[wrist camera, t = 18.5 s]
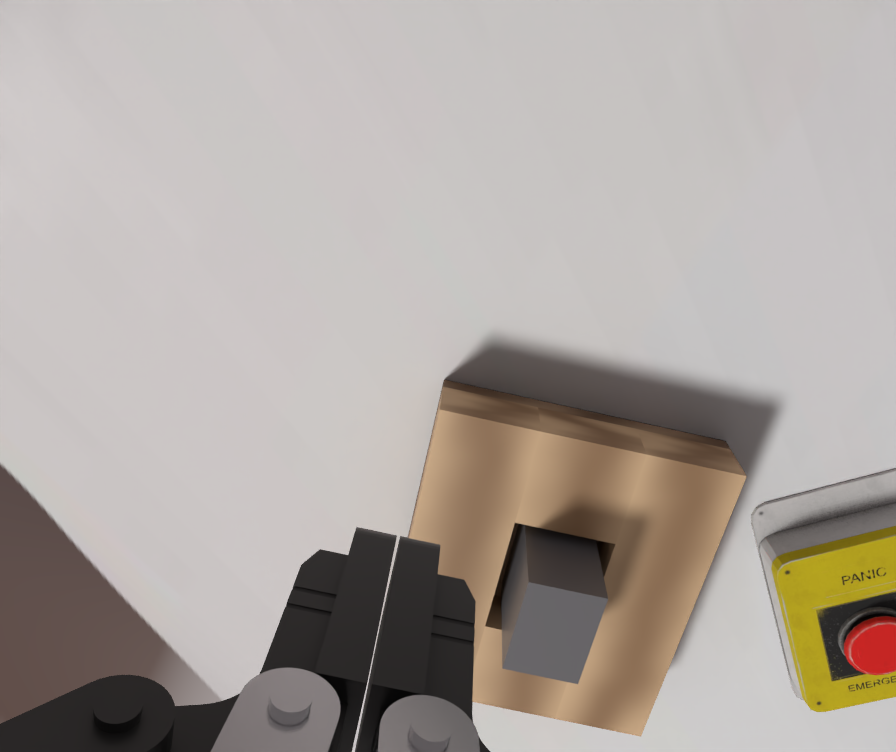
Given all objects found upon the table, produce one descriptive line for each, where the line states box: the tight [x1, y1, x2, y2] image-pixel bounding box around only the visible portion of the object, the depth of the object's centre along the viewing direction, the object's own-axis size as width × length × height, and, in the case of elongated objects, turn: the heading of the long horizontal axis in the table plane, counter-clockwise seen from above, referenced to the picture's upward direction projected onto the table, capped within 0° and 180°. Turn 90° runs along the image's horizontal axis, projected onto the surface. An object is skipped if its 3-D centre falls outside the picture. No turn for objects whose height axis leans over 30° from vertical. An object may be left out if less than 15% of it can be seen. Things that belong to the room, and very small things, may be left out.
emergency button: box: [751, 469, 896, 712], centre depth 46 cm, size 9×4×15 cm
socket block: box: [408, 380, 747, 736], centre depth 46 cm, size 16×18×4 cm
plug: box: [501, 524, 608, 684], centre depth 43 cm, size 4×6×7 cm
